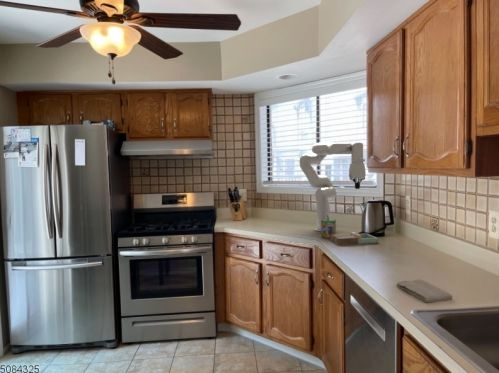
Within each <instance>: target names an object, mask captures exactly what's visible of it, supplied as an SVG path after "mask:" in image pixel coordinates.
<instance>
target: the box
mask: <svg viewBox="0 0 499 373" xmlns="http://www.w3.org/2000/svg"><path fill="white" fill-rule="evenodd" d="M358 234H359V235H361V239H358V244H357V245H369V244H371V245H373V244H379V238H378V237H376V236H375V235H371V234H369V233H358Z"/></svg>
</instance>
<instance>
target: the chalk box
mask: <svg viewBox="0 0 499 373" xmlns="http://www.w3.org/2000/svg"><path fill="white" fill-rule="evenodd" d="M327 218H328V219H323V220H322V221H321V226H322V231H321V238H324V239H325V238H326V239H330V234H337V219H335V218H334V219H333V218H330V219H329V217H328V215H327Z"/></svg>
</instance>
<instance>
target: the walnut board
mask: <svg viewBox="0 0 499 373" xmlns="http://www.w3.org/2000/svg"><path fill="white" fill-rule="evenodd" d="M329 240H330V241H331V242H333V243H334V244H336V245H338V246H351V245H352V246H354V245H359V244H358V238H357V237H355V236H353V235H351V234H350V232H343V233H342V232H340V233H336V234H330V238H329Z"/></svg>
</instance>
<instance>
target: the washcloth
mask: <svg viewBox="0 0 499 373" xmlns="http://www.w3.org/2000/svg"><path fill="white" fill-rule="evenodd" d="M396 283H397V284H396V285H395V286H396V287H397V288H398V289H400V291H403V292H404V293H406V294H408V295H410V296H412V297H414V298H415V299H418V300H419V301H421V302H423V303H426V302H428V303H434V302H443V301H450V300H452V299H453V295H452V294H451V293H449V292H447V291H446V290H444V289H441V288H440V287H437V286H435V285H433V284H431V283H429V282H427V281H424V280H422V279H415V280H414V279H413V280H402V281H397V282H396Z"/></svg>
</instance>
